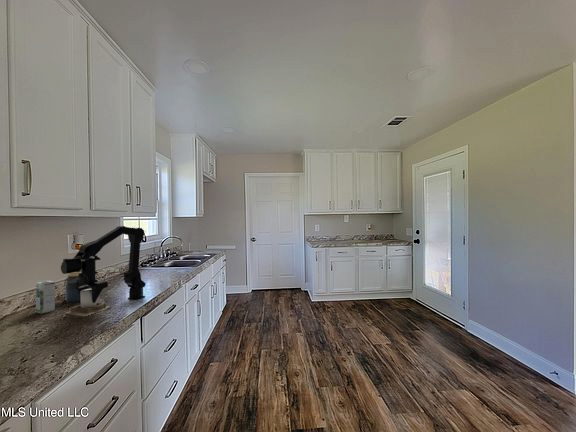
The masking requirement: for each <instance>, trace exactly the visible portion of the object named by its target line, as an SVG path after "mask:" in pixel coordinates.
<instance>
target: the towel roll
mask: <svg viewBox="0 0 576 432" xmlns="http://www.w3.org/2000/svg"><path fill="white" fill-rule="evenodd" d="M89 290H91V289H85V290H82V291H80V299H81V301H80V305H81V308H84V309H87V308H91V307H94V306H97V302H98V301H97V300H98V299H97V300H96V302H95V303H93V302H92V293H91V292H90V291H89Z"/></svg>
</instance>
